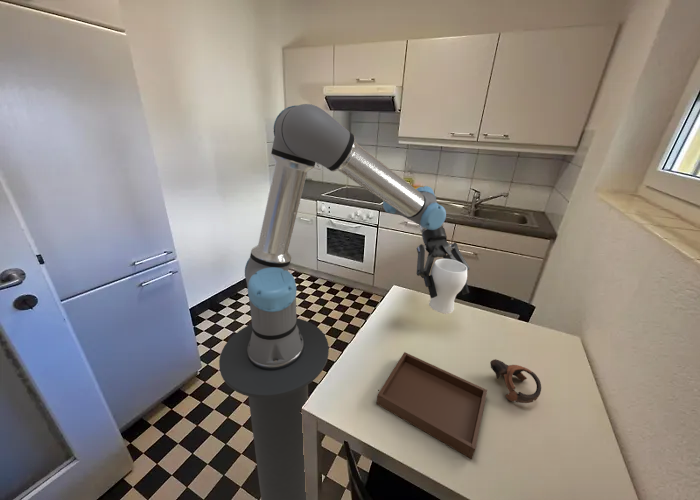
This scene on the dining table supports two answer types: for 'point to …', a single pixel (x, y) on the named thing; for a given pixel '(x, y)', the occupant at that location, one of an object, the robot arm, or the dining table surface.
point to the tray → (435, 402)
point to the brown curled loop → (507, 372)
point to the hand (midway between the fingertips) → (450, 295)
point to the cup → (447, 283)
